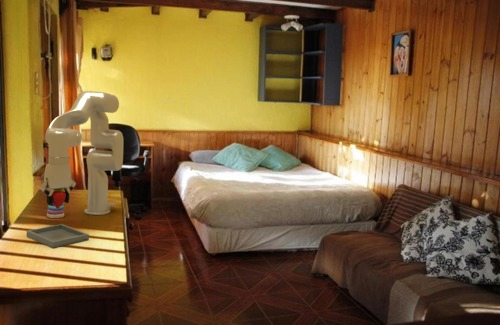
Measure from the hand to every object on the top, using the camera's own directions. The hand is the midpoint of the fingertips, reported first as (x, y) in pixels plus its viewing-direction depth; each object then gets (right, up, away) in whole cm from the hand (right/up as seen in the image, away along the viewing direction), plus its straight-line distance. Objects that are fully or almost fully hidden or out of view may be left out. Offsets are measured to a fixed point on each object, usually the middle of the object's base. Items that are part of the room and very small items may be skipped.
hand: (58, 203), depth 197 cm
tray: (-1, -15, +2) cm, 15 cm away
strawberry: (0, -2, 0) cm, 2 cm away
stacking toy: (-15, -9, +33) cm, 38 cm away
